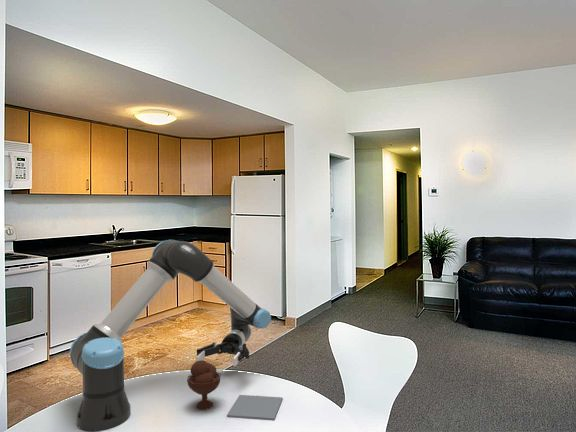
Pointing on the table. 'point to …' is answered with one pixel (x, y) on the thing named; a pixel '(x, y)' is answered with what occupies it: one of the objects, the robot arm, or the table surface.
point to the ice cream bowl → (203, 382)
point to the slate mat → (255, 407)
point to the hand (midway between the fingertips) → (215, 361)
